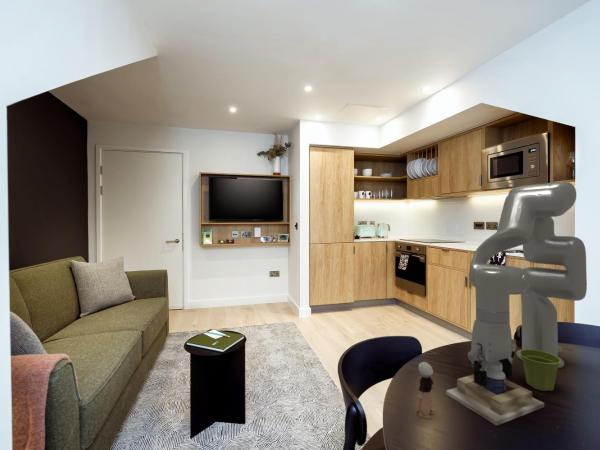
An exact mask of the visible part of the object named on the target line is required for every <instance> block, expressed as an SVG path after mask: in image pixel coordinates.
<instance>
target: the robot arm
mask: <svg viewBox="0 0 600 450" xmlns="http://www.w3.org/2000/svg"><path fill="white" fill-rule="evenodd" d="M576 200H577V190H576V187H575V186H574V184H573V183H571V182H569V181H555V182H548V183H536V184H535V183H534V184H525V185H521V186H516V187H512V188H511V189H510V190H509V192H508V195H507V196H506V197H505V199H504V203H503V207H502V210H501V215H500V218H499V222H498V227H497V231H496V232H495V233H493V234H492V235H491V236H489V237H488V238H486V239H485V240H484V241H483V242H482V243H481V244H479V246H478V247H477V248H476V250H475V251H474V253H473V255H472V259H471V262H470V266H469V269H468V270H469V272H468V280H469V282H470V285H471V286H473V287H474V288H475V320H474V321H473V325H472V332H471V348H470V349H471V350H470V351H468V352H467V357H468V359H469V363H470V364H471V366H472V368H473V374H474V381H475V382H476V383H478V384H480V385H482V386H484V387H486V386H487V371H485V368H486V366H487V364H488V363H490V362H494V361H498V362H500V363H502V368H503V369H502V372H504V374H505V378H506V379H508V380H510V379H513V363H514V356H515V354H516V357H517V358H518V359H520V360H521V361H523V360H522V358H521V356H520V354H519V351H520V350H524V349H532V350H539V351H544V352H547V353H550V354H553V355H555V356H557V357H559V355H558V354H559V353H560V352H563V350H564V348H563V347H562V346H561V345H558V344H559V343H558V337H559V336H558V311H557V308H556V306H555V305H554V304H553V302H552V301H551V300H550V299H559V300H565V301H566V300H567V301H575V302H576V301H578V302H579V301H582V300H584V299H585V297H586V296H587V289H588V288H587V287H588V286H587V285H588V283H587V281H588V280H587V279H588V276H587V251H586V246H585V244H584V241H583V240H582V239H580V238H578V237H576V236H571V235H569V236H568V235H567V236H566V235H556V234H555V221H554V219H553V217H555V218H556V217H560V216H561V217H562V216H563V215H565V213H567V212H568V211H569V210H570V209H572V208H573V206H574V205H575V203H576ZM519 246H522V255H523V258H524V260H526V261H527V262H529V263H532V264H542V265H555V266H561V267H562V266H563V267H564V268H565V269H559V268H549V267H537V266H531V267H530V266H528V267H525V268H521V267H517V266H510V265H500V264H491V263H488V262H489V261H490V259H491V258H493V257H494V256H496V255H497V254H499V253H502V252H505V251H507V250H510V249H514V248H517V247H519ZM510 295H520V301H521V302H520V303H521V349H519V350H517V351H516V348H517V344H516V343H515V342H513V340H512V339H513V337H512V330H511V325H510V323H511V322H510V320H511V319H510V317H511V316H510V314H511V313H510ZM515 351H516V352H515ZM559 358H560V357H559ZM560 359H561V363H560V364H559V367H558V368H557V369H562V368H563V367H565V362H564V360H563V358H560ZM480 361H482V362H481V363H480Z"/></svg>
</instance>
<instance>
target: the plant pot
mask: <svg viewBox="0 0 600 450" xmlns="http://www.w3.org/2000/svg"><path fill="white" fill-rule="evenodd" d="M519 350H520V351H519V354H520V356H521V358H522V360H521V361H522V364H523V369H524V375H525V381H526V383H527V385H529V386H530V387H532V388H533V389H535V390H539V391H542V392H547V391H550V392H552V391H554V389H555V383H556V379H557V372H558V369H559V368H558V367H559V364H560V363H561V359H562V358H561V359H560V357H559V356H558V357H557V356H555V355H553V354H550V353H547V352H544V351H539V350H532V349H524V350H522V349H519Z"/></svg>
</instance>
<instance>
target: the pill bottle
mask: <svg viewBox="0 0 600 450" xmlns="http://www.w3.org/2000/svg"><path fill="white" fill-rule="evenodd" d="M502 369H503V368H502V363H500V362H499V360H498V361H494V362H490V363H488V364H487V366H486V368H485V371H487V386H486V387H484V386H482V387H483V388H485V389H487V390H489V391H491V392H492V393H494V394H496V395H499V394H502V393H505V392H506V380H507V378H506V377H505V374H504V372H502Z"/></svg>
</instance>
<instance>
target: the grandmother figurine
mask: <svg viewBox="0 0 600 450" xmlns="http://www.w3.org/2000/svg"><path fill="white" fill-rule="evenodd" d="M418 372H419V375H420V376H421V378H420V380H419V387H418V395H417V406H416V408H417V411H419V412H418V416H419V417H420V418H422V419H425V420H430V419H431V418H432V417H431V415H432V416H433V415H435V412H434V411H433V409H434V406H433V398H432V390H435V388H436V387H435V384H434V381H433V379H432V377H431V376H432V375H433V374H434V370H433V368H432V366H431V365H430V364H429V363H428V362H427V361H422V362H420V363H419V364H418Z"/></svg>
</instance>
